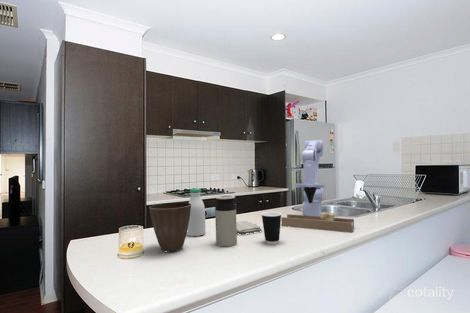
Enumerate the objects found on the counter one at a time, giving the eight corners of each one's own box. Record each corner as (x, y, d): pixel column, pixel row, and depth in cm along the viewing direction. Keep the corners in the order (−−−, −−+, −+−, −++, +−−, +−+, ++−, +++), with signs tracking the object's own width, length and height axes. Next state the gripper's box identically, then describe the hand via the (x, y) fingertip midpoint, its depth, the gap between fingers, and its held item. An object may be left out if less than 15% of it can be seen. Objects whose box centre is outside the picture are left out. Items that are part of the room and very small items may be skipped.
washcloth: (240, 237, 116) (240, 229, 116) (222, 228, 132) (222, 222, 132) (264, 233, 122) (263, 226, 122) (243, 225, 138) (243, 219, 138)
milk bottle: (207, 235, 118) (206, 188, 118) (189, 238, 115) (188, 189, 115) (202, 231, 125) (201, 187, 125) (186, 233, 122) (184, 188, 123)
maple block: (320, 223, 125) (320, 214, 125) (323, 220, 129) (322, 212, 129) (332, 224, 122) (331, 214, 122) (334, 221, 126) (334, 212, 126)
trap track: (281, 225, 132) (281, 217, 132) (287, 222, 140) (287, 214, 140) (351, 232, 116) (351, 223, 116) (354, 227, 124) (353, 219, 124)
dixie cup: (285, 244, 102) (284, 214, 103) (264, 246, 101) (263, 216, 101) (279, 238, 110) (278, 211, 110) (259, 240, 109) (258, 212, 109)
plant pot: (147, 257, 92) (146, 209, 92) (152, 244, 107) (151, 203, 107) (193, 253, 95) (192, 207, 95) (191, 241, 110) (190, 201, 110)
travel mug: (239, 241, 108) (238, 195, 109) (233, 247, 101) (232, 198, 101) (220, 240, 110) (218, 195, 111) (213, 246, 103) (211, 197, 103)
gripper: (292, 174, 134) (293, 203, 133) (323, 174, 126) (324, 204, 126) (297, 174, 140) (297, 201, 139) (326, 174, 132) (327, 202, 132)
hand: (310, 202), depth 133 cm, fingers closed
